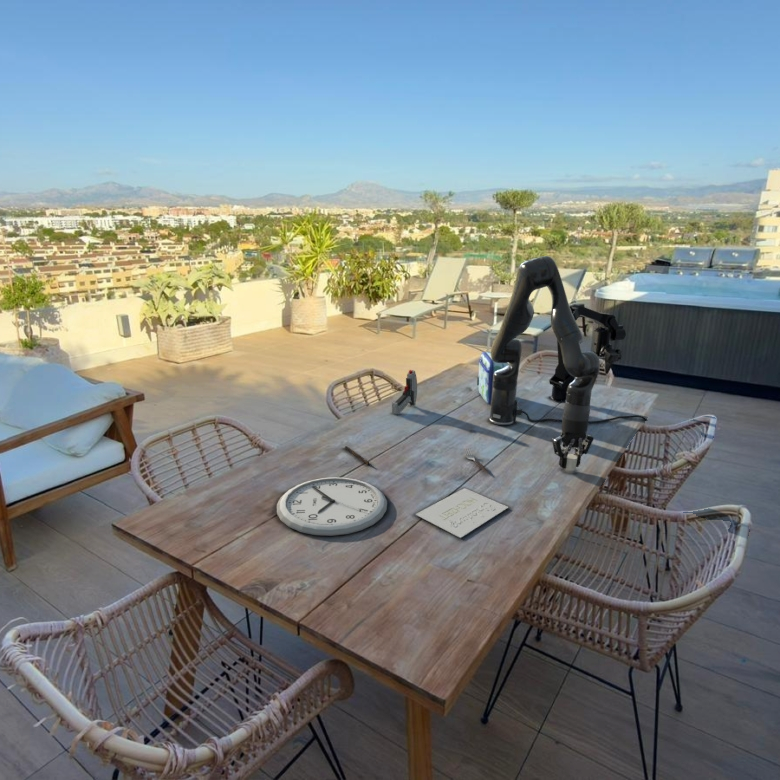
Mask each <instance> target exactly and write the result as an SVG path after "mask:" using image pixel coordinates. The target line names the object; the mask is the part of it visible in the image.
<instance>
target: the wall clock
mask: <svg viewBox="0 0 780 780" xmlns="http://www.w3.org/2000/svg"><path fill="white" fill-rule="evenodd" d="M387 509H388V500H387V498H386V496H385V494H384V493H383V492H382V491H381V490H380V489H379V488H377V487H376V486H374V485H372V484H371V483H369V482H365V481H362V480H359V479H355V478H349V477H338V476H337V477H335V476H333V477H332V476H331V477H322V478H317V479H312V480H307V481H305V482H302V483H299V484H297V485H295V486H293V487H292V488H290V489H288V490H287V491H286V492H285V493H284V494H283V495H281V496H280V498H279V499H278V502H277V503H276V515H277V517H278V518H279V520H280V521H281V522H282V523H283V524H285V525H286V526H287V527H288V528H290V529H293V530H295V531H297V532H299V533H303V534H308V535H312V536H327V537H328V536H329V537H331V536H332V537H333V536H342V535H350V534H352V533H356V532H361V531H363V530H366V529H368V528H369V527H372V526H373V525H375V524H376V523H378V522H379V521H380V520H381V519H382V518H383V517H384V516H385V514H386V512H387Z"/></svg>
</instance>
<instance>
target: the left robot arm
mask: <svg viewBox="0 0 780 780" xmlns="http://www.w3.org/2000/svg"><path fill="white" fill-rule="evenodd" d="M560 273H561V272H560V271H559V268H558V265H557V263H556V261H555V260H554V259H553V258H552V257H551V256H550V255H549V256H548V255H544V256H540V257H537V258H532V259H529V260H526V261H523V262H522V263H521V264H520V265H519V266H518V270H517V272H516V276H515V281H514V285H513V290H512V293H511V297H510V299H509V302H508V305H507V308H506V310H505V313H504V316H503V319H502V321H501V325H500V327H499V330H498V332H497V333H496V335H495V337H494V339H493V341H492V344H491V348H490V352H491V358H492V360H493V361H494V362H496V363H508V365H507V366H506V367H504V368H502V369H499V370H497V371H495V372H494V374H493V385H492V398H491V404H490V410H489V411H490V413H489V414H490V415H489V422H490V423H491V424H494V425H497V426H511V425H513V424H516V423H517V416H522V415H525V416H526V419H527V421H529V422H531V423H539V422H540V423H541V422H549V421H550V422H560V423H561V433H560V435H559V436H558V437H552V438H551V443H552V448H553V453H554V455H556V456H558V457H559V461H558V465H559V467H560V468H561V469H563V470H565V468H566V463H567V455H568V454H570V452H571V450H572V449H573V450H574V454H573V455H576V456H577V464H576V468H579V467H580V465H581V461H582V457H583V455H587V454H588V453H589V450H590V448H591V446H592V443H593V441H594V439H595V438H594V436H592V435H590V434H589V433H587V432H588V427H589V424H599V423H604V422H610V421H615V420H618V419H619V420H620V419H631V418H639V419H642V420H644V421H646V422H648V419H647V418H646V417H645V416H643V415H639V414H632V415H619V416H615V417H611V418H605V419H600V420H589V419H590V414H591V413H590V412H591V399H592V391H593V388H594V386H595V384H596V381H597V378H598V375H599V373H600V369H601V360H600V359H599V358H598V357H599V356H597V354H595V353H594V352H593V351H590V350H586V351H582V349H581V345H582V343H583V342H584V335H583V333H582V331H581V329H580V327H579V325H578V322H577V320H576V321H575V319H574V316H573V314H572V312H571V309H570V306H571V305H570V303H569V300H568V296H567V292H566V290H565V286H564V283H563V280H562V277H561V274H560ZM545 287H547V289H548V290H549V292H550V295H551V312H550V325H551V329H552V331H553V333H554V336H555V338H556V341H557V340H558V342H559V344H560V346H561V353H562V358H563V363H564V366H565V368H566V370H567V372H568V373H569V374H570V375H572V376H573V377H575V379H574V381H573V382H571V383H570V384H569V385H568V388H567V395H566V401H564V406H563V412H562V419H557V418H542V419H535V420H534V419H531V418H530V416H529V414H528V413H527V412H526V411H524V410H523V409H522V408H521V407H520V406H518V399H517V388H518V378H519V373H520V364H521V357H522V343H521V341H520V339H518V338H517V337H519V336H521V335H522V334H523V333H525V332H526V331H527V330H528V329H529V327H530V325H531V323H532V321H533V318H534V315H535V309H534V306H533V303H532V302H531V300H530V296H531V295H532V293H533V292H534V291H536V290H540V289H543V288H545Z"/></svg>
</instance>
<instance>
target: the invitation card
mask: <svg viewBox="0 0 780 780" xmlns="http://www.w3.org/2000/svg"><path fill="white" fill-rule="evenodd" d="M507 509H509V506H507V505H505V504H503V503H501V502H498V501H495V500H493V499H490V498H488V497H486V496H485V495H482V494H480V493H477V492H475V491H472V490H470V489H468V488H465V487H464V488H461V489H460V490H458V491H456V492H454V493H452V494H451V495H448V496H447V497H445V498H444V499H441V500H440V501H437V502H435V503H434V504H432V505H430V506H428V507H426V508H424V509H422V510H421V511H419V512H417V513H415V514H414V515H415V516H416V517H419V518H421V519H422V520H425V521H427V522H428V523H430V524H432V525H434V526H436V527H437V528H440V529H442V530H443V531H446V532H447V533H449V534H451V535H453V536H455V537H457V538H459V539H462V538H464V537H465V536H466V535H468V534H469V533H472V532H473V531H475V530H476V529H477V528H479V527H480V526H482V525H484V524H485V523H487V522H488V521H490V520H491V519H493V518H495V517H496V516H498V515H500V514H501V513H502V512H504V511H506V510H507Z"/></svg>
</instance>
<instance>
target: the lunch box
mask: <svg viewBox="0 0 780 780" xmlns="http://www.w3.org/2000/svg"><path fill="white" fill-rule="evenodd" d="M508 364H509V363H496V362H494V361H493V360H492V358H491V351H482V352H481V354H480V358H479V360H478V377H477V381H476V384H477V385H476V386H478V393H479V395H480V396H481V397H482V399H483V400H484V402H485V404H487V405H488V406H489V405H490V406H491V398H492V385H493V374H494V372H495V371H497V370H499V369H502V368H504V367H506V366H507V365H508Z"/></svg>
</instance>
